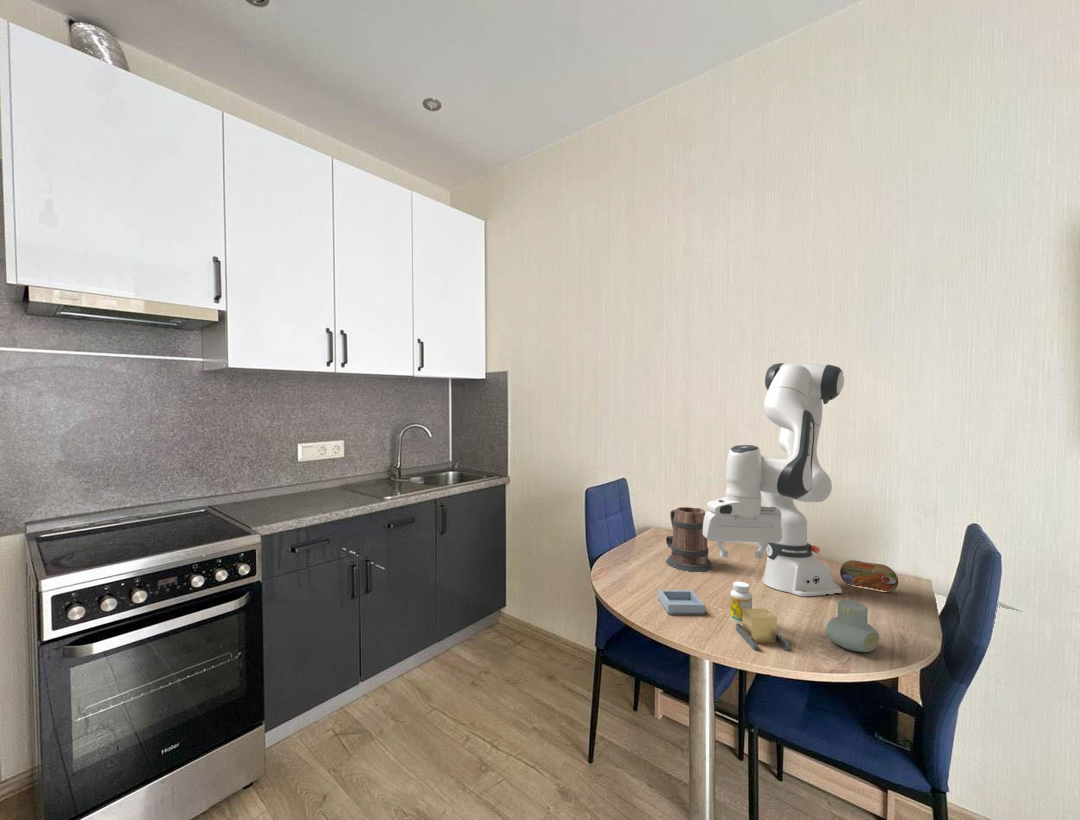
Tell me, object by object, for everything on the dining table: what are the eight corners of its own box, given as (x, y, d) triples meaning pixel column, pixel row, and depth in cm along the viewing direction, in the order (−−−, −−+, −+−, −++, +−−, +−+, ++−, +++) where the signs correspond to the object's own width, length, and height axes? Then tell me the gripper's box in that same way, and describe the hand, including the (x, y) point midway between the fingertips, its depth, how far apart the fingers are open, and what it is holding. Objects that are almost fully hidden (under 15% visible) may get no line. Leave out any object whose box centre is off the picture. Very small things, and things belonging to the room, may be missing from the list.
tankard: (724, 570, 161) (725, 513, 161) (680, 574, 157) (681, 515, 157) (687, 550, 183) (688, 500, 183) (648, 552, 179) (649, 501, 179)
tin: (839, 584, 149) (840, 559, 149) (839, 581, 152) (840, 556, 152) (898, 595, 141) (898, 568, 141) (897, 592, 144) (897, 565, 144)
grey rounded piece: (846, 633, 116) (847, 594, 116) (883, 648, 109) (884, 606, 109) (821, 643, 111) (821, 602, 111) (858, 660, 104) (858, 616, 104)
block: (765, 632, 116) (766, 608, 116) (776, 642, 111) (776, 617, 111) (742, 632, 116) (742, 608, 116) (751, 642, 111) (751, 617, 111)
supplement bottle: (755, 624, 120) (756, 588, 120) (734, 624, 120) (735, 587, 120) (746, 615, 126) (746, 580, 126) (726, 615, 126) (727, 580, 126)
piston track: (757, 617, 125) (757, 610, 125) (793, 651, 107) (793, 643, 107) (719, 616, 125) (719, 609, 125) (749, 651, 107) (749, 642, 107)
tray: (692, 600, 135) (692, 590, 135) (704, 616, 125) (704, 605, 125) (658, 600, 135) (658, 589, 135) (668, 615, 125) (668, 604, 125)
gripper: (775, 504, 126) (773, 554, 126) (701, 502, 126) (699, 553, 126) (787, 509, 120) (786, 562, 120) (709, 507, 120) (708, 560, 120)
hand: (741, 557), depth 123 cm, fingers open, 8 cm apart
